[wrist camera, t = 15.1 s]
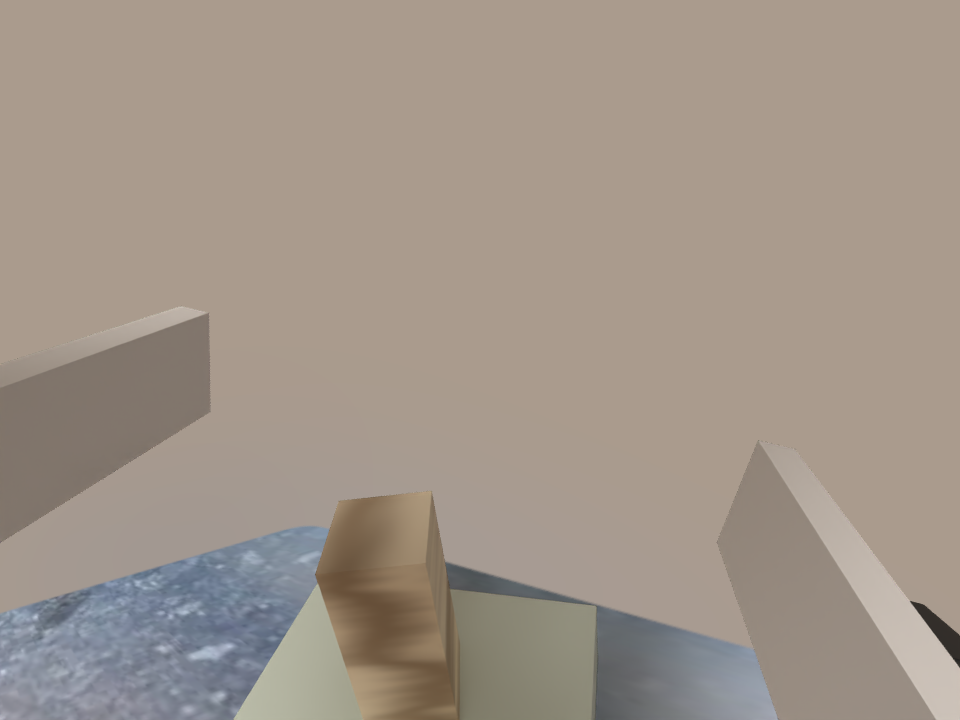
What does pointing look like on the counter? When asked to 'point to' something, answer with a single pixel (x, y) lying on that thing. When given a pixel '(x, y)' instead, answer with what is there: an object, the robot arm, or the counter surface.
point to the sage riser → (483, 663)
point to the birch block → (392, 607)
